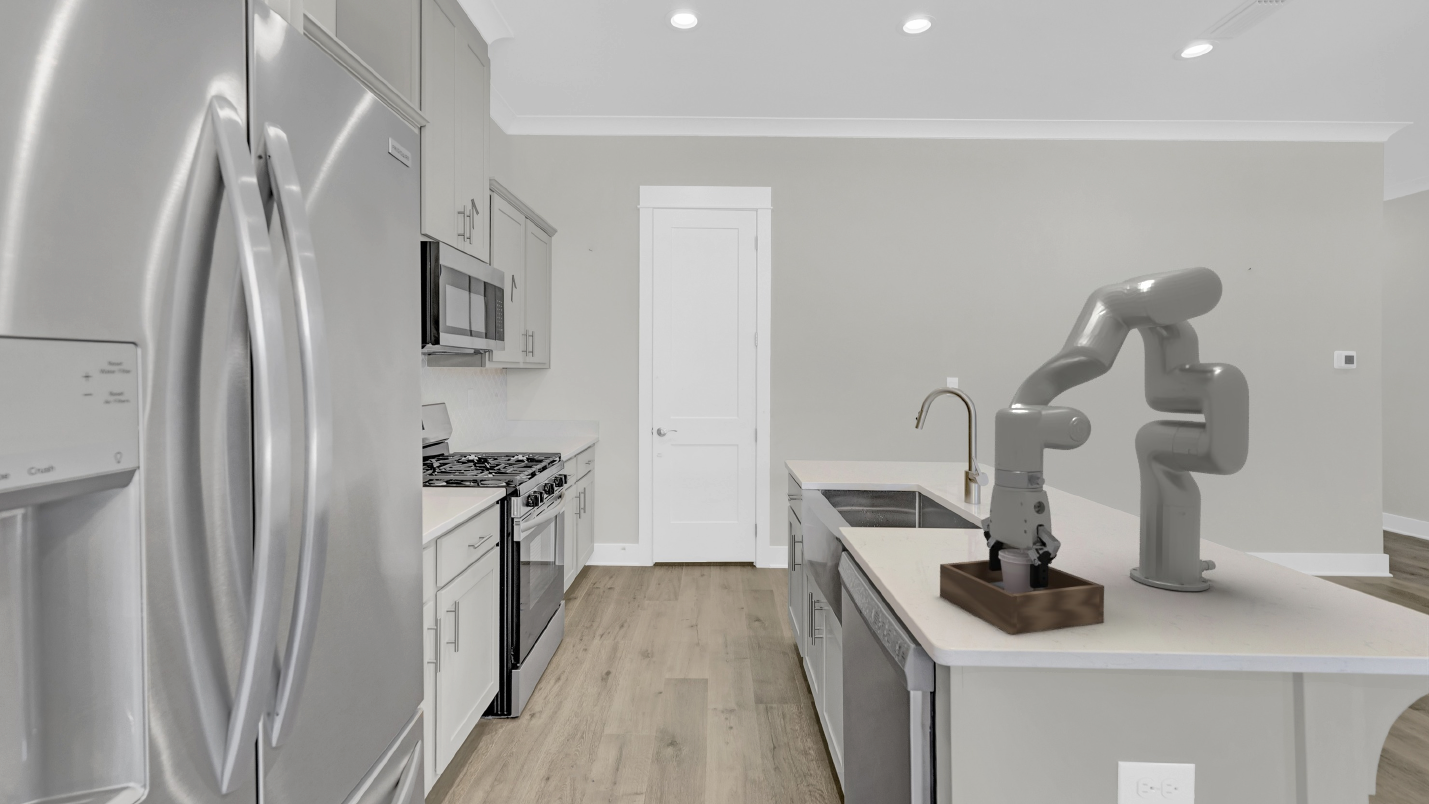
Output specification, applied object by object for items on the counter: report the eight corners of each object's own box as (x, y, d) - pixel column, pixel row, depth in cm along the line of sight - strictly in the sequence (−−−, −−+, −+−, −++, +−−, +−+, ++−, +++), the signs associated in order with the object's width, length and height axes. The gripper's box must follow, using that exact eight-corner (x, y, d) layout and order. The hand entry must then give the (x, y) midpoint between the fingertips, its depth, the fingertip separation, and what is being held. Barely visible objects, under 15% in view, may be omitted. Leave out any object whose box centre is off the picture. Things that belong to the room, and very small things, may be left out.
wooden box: (1021, 587, 119) (1022, 556, 119) (1103, 622, 102) (1104, 585, 102) (939, 596, 114) (940, 564, 114) (1011, 634, 97) (1011, 596, 97)
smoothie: (1044, 617, 104) (1045, 533, 104) (1002, 614, 106) (1003, 531, 105) (1032, 603, 111) (1033, 525, 110) (993, 601, 112) (994, 523, 111)
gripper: (1077, 486, 100) (1076, 592, 101) (1001, 472, 117) (1000, 562, 117) (1039, 489, 98) (1037, 597, 99) (966, 473, 115) (965, 566, 115)
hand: (1017, 578), depth 108 cm, fingers open, 9 cm apart
